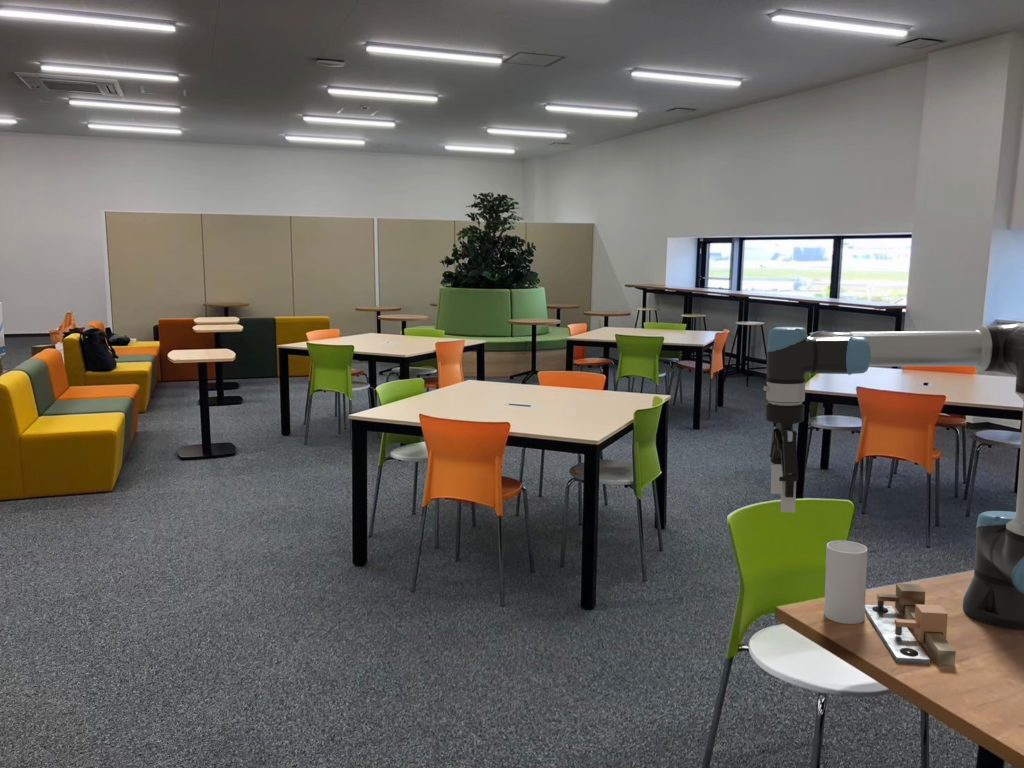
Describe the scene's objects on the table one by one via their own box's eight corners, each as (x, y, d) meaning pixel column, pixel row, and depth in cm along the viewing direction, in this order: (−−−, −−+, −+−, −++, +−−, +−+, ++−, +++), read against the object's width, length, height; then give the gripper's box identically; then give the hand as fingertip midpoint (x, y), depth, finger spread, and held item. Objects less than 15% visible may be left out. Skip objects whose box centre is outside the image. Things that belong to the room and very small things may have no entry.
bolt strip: (891, 610, 176) (891, 605, 176) (929, 664, 152) (929, 658, 151) (862, 608, 177) (863, 603, 177) (896, 662, 153) (896, 656, 152)
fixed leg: (918, 608, 174) (919, 584, 174) (924, 616, 170) (925, 591, 170) (874, 606, 176) (876, 582, 175) (880, 614, 172) (881, 589, 171)
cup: (868, 625, 169) (871, 554, 167) (828, 622, 170) (830, 552, 168) (859, 609, 177) (862, 541, 174) (821, 607, 178) (823, 539, 176)
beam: (912, 611, 175) (913, 598, 175) (954, 665, 151) (955, 651, 150) (898, 610, 176) (899, 597, 175) (938, 664, 151) (938, 650, 151)
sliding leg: (938, 634, 162) (940, 605, 161) (945, 643, 158) (947, 613, 157) (892, 632, 163) (893, 603, 162) (898, 641, 159) (899, 611, 159)
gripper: (758, 393, 174) (756, 486, 177) (775, 412, 150) (772, 519, 153) (793, 393, 173) (790, 486, 176) (816, 413, 149) (813, 521, 151)
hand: (782, 502), depth 164 cm, fingers open, 13 cm apart
